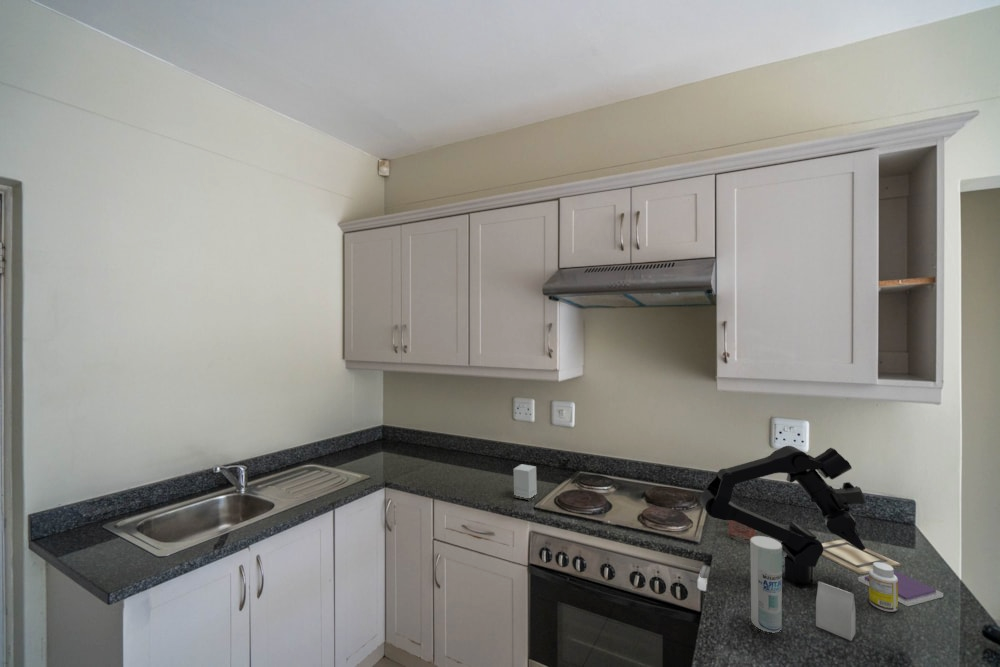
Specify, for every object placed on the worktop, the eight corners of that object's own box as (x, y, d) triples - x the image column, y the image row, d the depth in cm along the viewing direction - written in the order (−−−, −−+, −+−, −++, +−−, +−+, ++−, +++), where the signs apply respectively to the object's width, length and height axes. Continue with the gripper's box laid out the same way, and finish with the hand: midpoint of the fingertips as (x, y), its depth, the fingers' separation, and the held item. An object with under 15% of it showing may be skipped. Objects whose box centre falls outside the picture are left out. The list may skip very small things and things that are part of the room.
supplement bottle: (882, 598, 117) (883, 559, 117) (904, 612, 112) (904, 571, 111) (863, 600, 117) (863, 560, 116) (883, 613, 111) (883, 572, 111)
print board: (859, 574, 128) (860, 572, 128) (807, 548, 144) (807, 545, 144) (900, 565, 133) (900, 563, 133) (845, 540, 148) (845, 538, 148)
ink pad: (907, 606, 114) (907, 600, 114) (858, 580, 125) (858, 575, 125) (943, 597, 117) (943, 591, 117) (891, 572, 129) (891, 567, 129)
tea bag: (851, 641, 102) (851, 597, 102) (815, 626, 107) (815, 584, 107) (855, 633, 104) (855, 590, 104) (820, 619, 109) (820, 578, 109)
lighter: (756, 541, 148) (756, 511, 148) (753, 545, 146) (753, 514, 146) (730, 533, 154) (730, 504, 154) (727, 537, 151) (726, 507, 151)
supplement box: (537, 496, 190) (537, 466, 190) (528, 502, 184) (528, 471, 184) (522, 492, 194) (521, 463, 194) (513, 498, 188) (512, 468, 188)
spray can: (770, 615, 111) (770, 535, 111) (788, 634, 104) (788, 548, 104) (744, 616, 111) (744, 536, 110) (761, 635, 104) (760, 549, 104)
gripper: (850, 483, 113) (901, 543, 107) (841, 466, 128) (885, 518, 123) (807, 503, 117) (854, 561, 112) (804, 485, 133) (844, 535, 128)
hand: (860, 542), depth 118 cm, fingers open, 9 cm apart
